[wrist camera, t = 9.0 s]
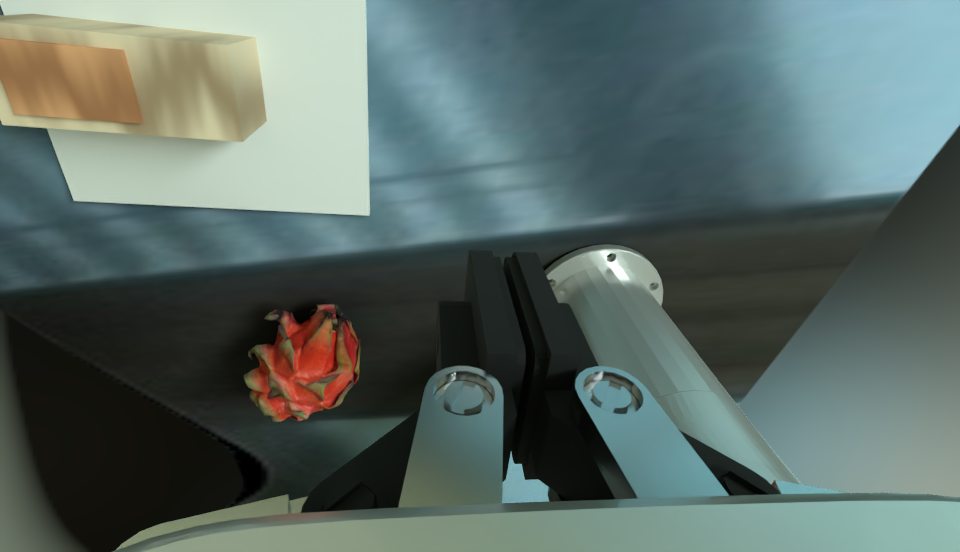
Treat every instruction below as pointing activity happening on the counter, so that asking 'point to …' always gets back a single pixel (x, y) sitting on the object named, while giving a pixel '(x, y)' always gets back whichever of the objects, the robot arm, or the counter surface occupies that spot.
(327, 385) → the dragon fruit
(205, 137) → the wood block
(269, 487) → the counter surface
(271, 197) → the mat
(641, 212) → the counter surface
